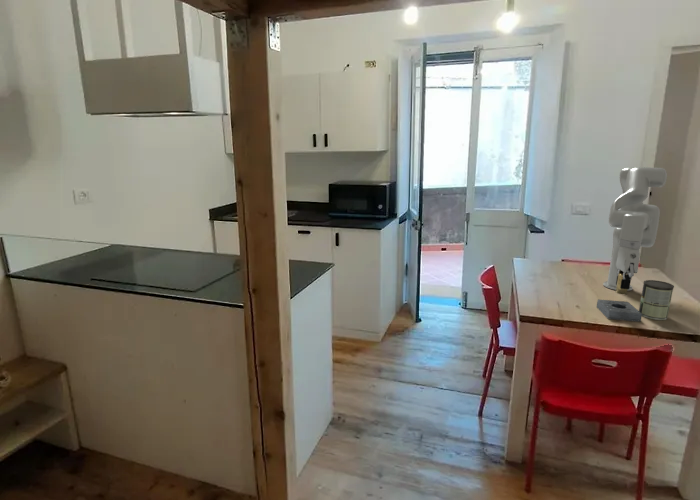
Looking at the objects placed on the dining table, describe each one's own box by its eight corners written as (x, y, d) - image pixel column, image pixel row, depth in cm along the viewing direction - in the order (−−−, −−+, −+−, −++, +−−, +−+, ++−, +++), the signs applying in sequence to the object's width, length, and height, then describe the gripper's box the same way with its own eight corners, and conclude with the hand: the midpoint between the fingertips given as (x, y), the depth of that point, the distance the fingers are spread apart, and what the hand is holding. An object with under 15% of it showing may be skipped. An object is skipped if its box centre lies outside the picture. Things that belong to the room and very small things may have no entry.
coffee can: (632, 310, 184) (637, 279, 180) (655, 310, 184) (661, 279, 181) (649, 320, 174) (655, 287, 170) (673, 320, 174) (680, 287, 171)
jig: (596, 306, 188) (597, 299, 187) (626, 309, 185) (627, 301, 185) (608, 318, 175) (609, 310, 174) (640, 321, 172) (642, 313, 171)
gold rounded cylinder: (624, 291, 179) (627, 273, 177) (628, 294, 175) (631, 276, 173) (614, 291, 180) (617, 272, 178) (617, 294, 176) (620, 275, 174)
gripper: (649, 249, 164) (641, 294, 168) (631, 240, 180) (624, 282, 184) (628, 247, 166) (620, 292, 170) (611, 239, 181) (605, 280, 186)
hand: (622, 286), depth 177 cm, fingers closed on gold rounded cylinder, 4 cm apart
